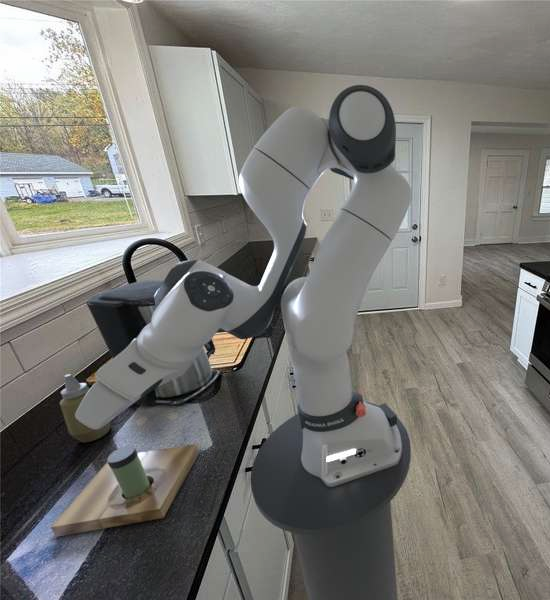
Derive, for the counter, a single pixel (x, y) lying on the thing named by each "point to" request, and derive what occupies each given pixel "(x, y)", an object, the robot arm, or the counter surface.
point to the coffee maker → (127, 326)
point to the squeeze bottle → (69, 407)
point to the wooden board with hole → (112, 503)
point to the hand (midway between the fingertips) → (129, 400)
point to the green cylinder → (129, 471)
